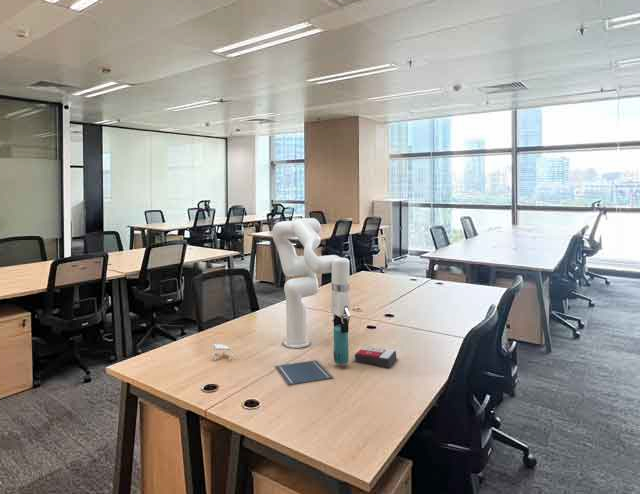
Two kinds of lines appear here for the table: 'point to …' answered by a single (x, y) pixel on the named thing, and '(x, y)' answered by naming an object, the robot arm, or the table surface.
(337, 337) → the beverage bottle
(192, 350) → the table surface
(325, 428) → the table surface
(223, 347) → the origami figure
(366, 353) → the black buttoned block
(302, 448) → the table surface
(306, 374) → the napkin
